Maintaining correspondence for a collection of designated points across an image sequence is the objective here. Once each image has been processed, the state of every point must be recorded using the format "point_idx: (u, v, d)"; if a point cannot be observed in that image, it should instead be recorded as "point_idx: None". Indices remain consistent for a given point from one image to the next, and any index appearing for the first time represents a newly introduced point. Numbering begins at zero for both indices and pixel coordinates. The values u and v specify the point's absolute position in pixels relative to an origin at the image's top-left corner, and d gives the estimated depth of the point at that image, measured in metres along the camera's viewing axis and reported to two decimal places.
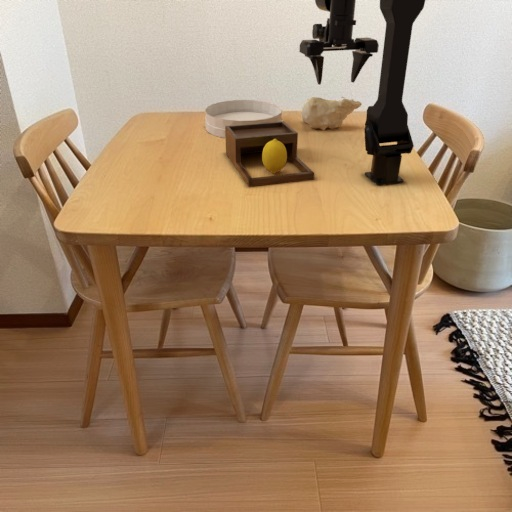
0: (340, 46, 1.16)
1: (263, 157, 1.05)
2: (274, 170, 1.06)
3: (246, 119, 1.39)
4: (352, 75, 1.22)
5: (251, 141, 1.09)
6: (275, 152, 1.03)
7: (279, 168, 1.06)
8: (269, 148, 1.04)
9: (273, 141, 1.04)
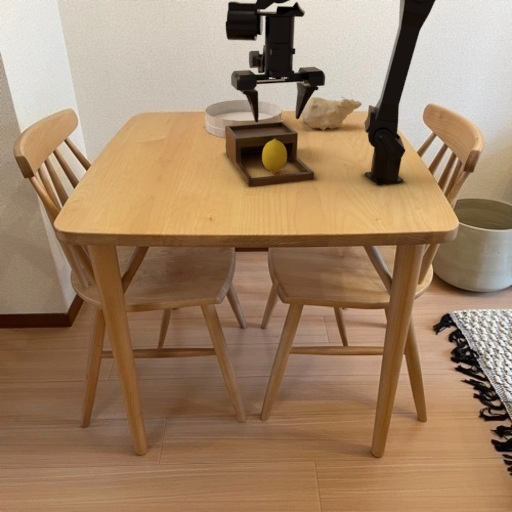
0: (279, 78, 0.97)
1: (263, 157, 1.05)
2: (274, 170, 1.06)
3: (246, 119, 1.39)
4: (296, 111, 1.03)
5: (251, 141, 1.09)
6: (275, 152, 1.03)
7: (279, 168, 1.06)
8: (269, 148, 1.04)
9: (273, 141, 1.04)
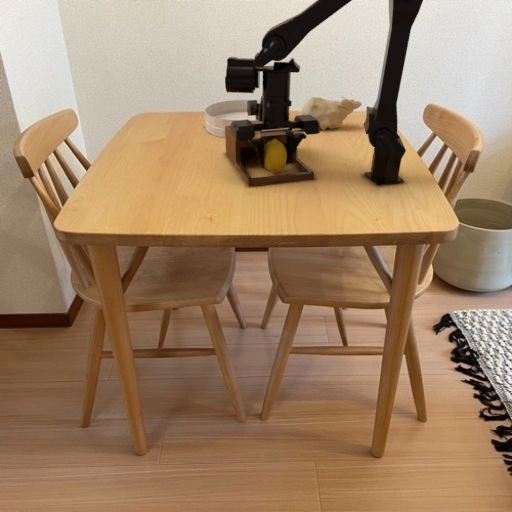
0: (268, 128, 1.01)
1: None
2: (274, 170, 1.06)
3: (246, 119, 1.39)
4: None
5: None
6: (275, 152, 1.03)
7: (279, 168, 1.06)
8: (269, 148, 1.04)
9: (273, 141, 1.04)
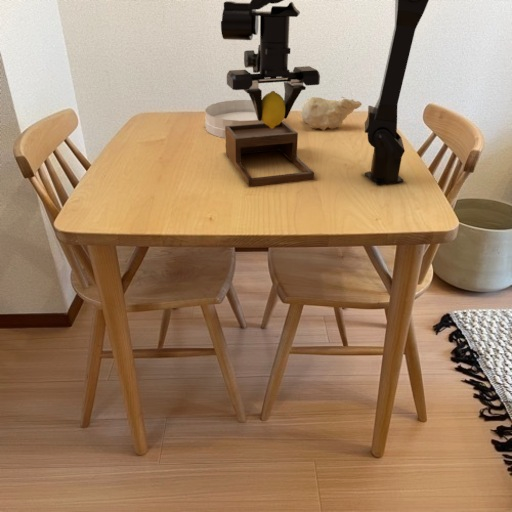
0: (266, 78, 0.97)
1: None
2: (272, 124, 1.02)
3: (246, 119, 1.39)
4: None
5: (251, 141, 1.09)
6: (273, 104, 0.99)
7: (277, 122, 1.02)
8: (267, 100, 1.00)
9: (271, 93, 1.00)
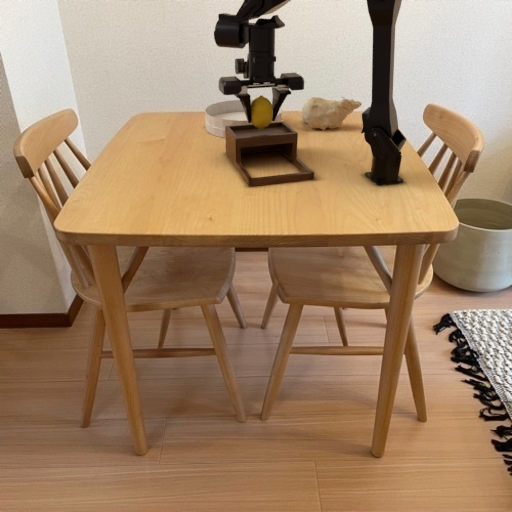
0: (254, 84, 1.06)
1: None
2: (261, 126, 1.11)
3: (246, 119, 1.39)
4: None
5: (251, 141, 1.09)
6: (261, 108, 1.08)
7: (265, 124, 1.11)
8: (256, 104, 1.08)
9: (259, 97, 1.09)
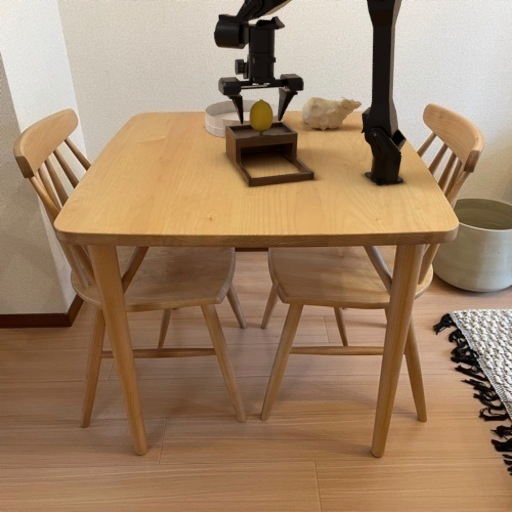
0: (261, 84, 1.07)
1: (250, 117, 1.11)
2: (261, 129, 1.11)
3: (246, 119, 1.39)
4: (278, 113, 1.13)
5: (251, 141, 1.09)
6: (261, 111, 1.09)
7: (265, 127, 1.11)
8: (256, 108, 1.09)
9: (259, 101, 1.09)
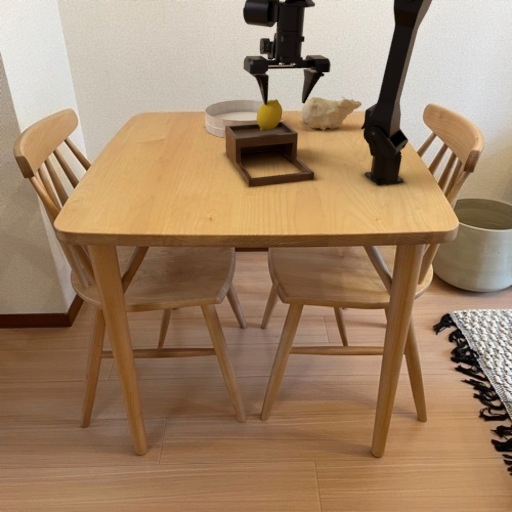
0: (288, 64, 1.05)
1: (260, 111, 1.10)
2: (264, 127, 1.11)
3: (246, 119, 1.39)
4: (303, 95, 1.11)
5: (251, 141, 1.09)
6: (273, 110, 1.09)
7: (270, 127, 1.11)
8: (270, 105, 1.09)
9: (275, 101, 1.10)
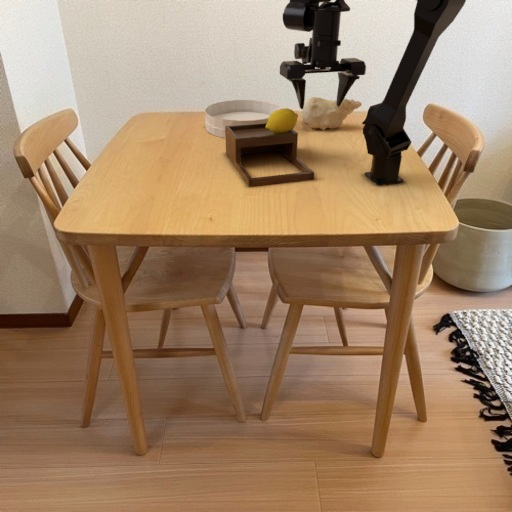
0: (324, 68, 1.06)
1: (280, 113, 1.10)
2: (273, 128, 1.11)
3: (246, 119, 1.39)
4: (338, 98, 1.12)
5: (251, 141, 1.09)
6: (291, 123, 1.10)
7: (276, 132, 1.11)
8: (291, 116, 1.10)
9: (296, 115, 1.11)
